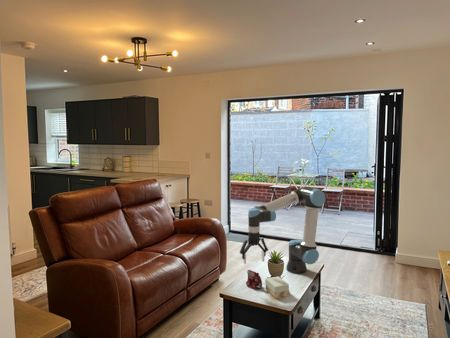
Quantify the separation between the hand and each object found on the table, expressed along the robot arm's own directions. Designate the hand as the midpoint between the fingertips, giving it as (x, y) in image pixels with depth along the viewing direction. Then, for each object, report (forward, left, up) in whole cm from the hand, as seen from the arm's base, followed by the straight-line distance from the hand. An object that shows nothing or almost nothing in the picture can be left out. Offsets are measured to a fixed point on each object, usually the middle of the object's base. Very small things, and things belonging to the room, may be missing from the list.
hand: (253, 262), depth 237 cm
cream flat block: (-10, +14, -14) cm, 22 cm away
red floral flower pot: (0, 0, -17) cm, 17 cm away
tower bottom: (-10, +14, -18) cm, 25 cm away
